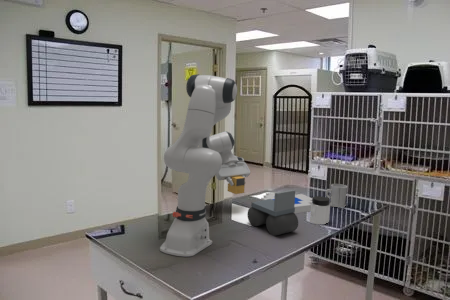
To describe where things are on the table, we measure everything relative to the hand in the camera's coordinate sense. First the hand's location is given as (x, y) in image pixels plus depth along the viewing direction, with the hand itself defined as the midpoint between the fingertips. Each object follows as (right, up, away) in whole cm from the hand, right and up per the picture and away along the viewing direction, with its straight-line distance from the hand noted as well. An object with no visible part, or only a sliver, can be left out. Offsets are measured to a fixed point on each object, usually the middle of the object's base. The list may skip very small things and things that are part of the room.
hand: (238, 184), depth 181 cm
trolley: (+14, -18, -18) cm, 29 cm away
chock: (-1, -4, +2) cm, 5 cm away
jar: (+39, -18, -7) cm, 44 cm away
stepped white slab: (+28, -14, +19) cm, 37 cm away
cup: (+56, -14, +20) cm, 61 cm away
